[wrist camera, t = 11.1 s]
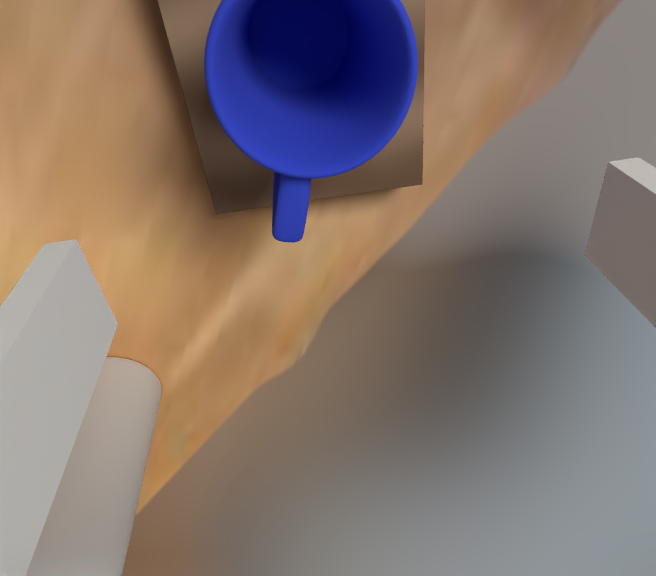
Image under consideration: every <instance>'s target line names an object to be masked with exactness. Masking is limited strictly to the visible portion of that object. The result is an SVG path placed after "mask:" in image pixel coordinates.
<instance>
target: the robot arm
mask: <svg viewBox="0 0 656 576" xmlns="http://www.w3.org/2000/svg"><path fill="white" fill-rule="evenodd" d="M585 256H586V257H587V258H588V259H589V260H590V261H591V262H592V263H593V264H594V265H595V266H596V267H597V268H598V269H599V270H600V271H601V273H602V274H603V275H604V276H605V277H607V279H609V281H610V282H612V284H613V285H614V286H616V288H617V289H618V290H619V291H620V292H621V293H622V294H623V295H624V296H625V297H626V298H627V299H628V300H629V301H630V302H631V303H632V304H633V305H634V306H635V307H636V308H637V309H638V310H639V311H640V312H641V313H642V314H643V315H644V316H645V317H646V318H647V319H648V320H649V321H650V322H651V323H652V324H653V325H654V326H655V327H656V168H655V167H653V166H652V165H650V164H648V163H647V162H645V161H643V160H642V159H640V158H632V159H626V160H618V161H611V162H608V165H607V169H606V173H605V176H604V181H603V184H602V188H601V192H600V196H599V200H598V204H597V208H596V211H595V215H594V219H593V223H592V227H591V231H590V235H589V239H588V243H587V247H586V250H585ZM117 326H118V323H117V321H116V319H115V317H114V315H113V313H112V311H111V309H110V307H109V305H108V303H107V301H106V299H105V297H104V295H103V293H102V291H101V289H100V287H99V285H98V283H97V281H96V279H95V276H94V274H93V272H92V270H91V268H90V266H89V264H88V262H87V260H86V258H85V256H84V254H83V252H82V250H81V248H80V246H79V244H78V242H77V240H76V239H74V240H67V241H60V242H53V243H46V244H44V245H43V246H42V248H41V249H40V251H39V252H38V254H37V255H36V256H35V258H34V259H33V261H32V262H31V264H30V265H29V266H28V268H27V269H26V271H25V272H24V274H23V275H22V277H21V278H20V279H19V281H18V282H17V284H16V285H15V287H14V288H13V289H12V291H11V292H10V294H9V295H8V297H7V298H6V299H5V301H4V302H3V304H2V305H1V307H0V576H26V573H27V570H28V568H29V565H30V562H31V560H32V557H33V554H34V551H35V549H36V546H37V543H38V541H39V538H40V535H41V532H42V530H43V527H44V524H45V522H46V519H47V516H48V513H49V511H50V508H51V505H52V503H53V500H54V497H55V494H56V492H57V489H58V486H59V484H60V481H61V478H62V475H63V473H64V470H65V467H66V465H67V462H68V459H69V456H70V454H71V451H72V448H73V446H74V443H75V440H76V437H77V435H78V432H79V429H80V427H81V424H82V421H83V418H84V416H85V413H86V410H87V408H88V405H89V402H90V399H91V397H92V394H93V391H94V389H95V386H96V383H97V380H98V378H99V375H100V372H101V370H102V367H103V364H104V361H105V359H106V356H107V353H108V351H109V348H110V345H111V342H112V340H113V337H114V334H115V332H116V329H117Z"/></svg>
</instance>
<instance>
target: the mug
mask: <svg viewBox="0 0 656 576" xmlns="http://www.w3.org/2000/svg"><path fill="white" fill-rule="evenodd" d="M204 73H205V81H206V88H207V92H208V96H209V100H210V103H211V106H212V108H213V111H214V113H215V115H216V117H217V119H218V121H219V123H220V125H221V126H222V128H223V130H224V131H225V133H226V134H227V136H228V137H229V138H230V139H231V140H232V142H233V143H234V144H235V145H236V146H237V147H238V148H239V149H240V150H241V151H242V152H243V153H244V154H246V155H247V156H248V157H249V158H251V159H252V160H253V161H255V162H256V163H258V164H260V165H262V166H263V167H265V168H267V169H269V170H272V171H274V182H273V217H272V234H273V237H274V238H275V239H276V240H279V241H283V242H297V241H300V240H301V239H302V237H303V233H304V228H305V223H306V217H307V211H308V205H309V197H310V187H311V178H312V179H315V178H325V177H330V176H335V175H339V174H342V173H345V172H348V171H350V170H352V169H355V168H356V167H358V166H360V165H362V164H364V163H365V162H367V161H368V160H370V159H371V158H373V157H374V156H375V155H376V154H377V153H378V152H380V151H381V150H382V149H383V148H384V147H385V146H386V145H387V144H388V143H389V142H390V140H391V139H392V138H393V136H394V135H395V134H396V132H397V131H398V129H399V128H400V126H401V125H402V123H403V121H404V119H405V117H406V115H407V113H408V110H409V108H410V105H411V103H412V100H413V96H414V92H415V87H416V81H417V74H418V53H417V45H416V39H415V35H414V31H413V28H412V24H411V21H410V19H409V16H408V14H407V12H406V9H405V8H404V6H403V4H402V2H401V0H222V1H221V2H220V4H219V6H218V8H217V10H216V12H215V14H214V17H213V19H212V22H211V25H210V28H209V32H208V35H207V40H206V46H205V56H204Z"/></svg>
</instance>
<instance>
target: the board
mask: <svg viewBox="0 0 656 576" xmlns="http://www.w3.org/2000/svg"><path fill="white" fill-rule="evenodd" d="M221 1H222V0H158V4H159V7H160V11H161V15H162V18H163V22H164V26H165V29H166V33H167V37H168V40H169V44H170V48H171V51H172V55H173V58H174V62H175V66H176V69H177V73H178V77H179V80H180V84H181V88H182V91H183V95H184V99H185V102H186V106H187V110H188V113H189V117H190V120H191V124H192V128H193V131H194V135H195V139H196V142H197V146H198V150H199V153H200V157H201V161H202V164H203V168H204V172H205V175H206V179H207V182H208V186H209V190H210V193H211V197H212V201H213V204H214V208H215V212H216V214H219V213H226V212H233V211H240V210H247V209H254V208H261V207H268V206H273V182H274V171H272V170H269V169H267V168H265V167H263V166H262V165H260V164H258V163H256V162H255V161H253V160H252V159H251V158H249V157H248V156H247V155H246V154H244V153H243V152H242V151H241V150H240V149H239V148H238V147H237V146H236V145H235V144H234V143H233V142H232V140H231V139H230V138H229V137H228V136H227V134H226V133H225V131H224V130H223V128H222V126H221V125H220V123H219V121H218V119H217V117H216V115H215V113H214V111H213V108H212V106H211V103H210V100H209V96H208V92H207V88H206V81H205V73H204V56H205V46H206V40H207V35H208V32H209V28H210V25H211V22H212V19H213V17H214V14H215V12H216V10H217V8H218V6H219V4H220V2H221ZM401 2H402V4H403V6H404V8H405V9H406V12H407V14H408V16H409V19H410V21H411V24H412V28H413V31H414V35H415V39H416V45H417V53H418V74H417V81H416V87H415V92H414V96H413V100H412V103H411V105H410V108H409V110H408V113H407V115H406V117H405V119H404V121H403V123H402V125H401V126H400V128H399V129H398V131H397V132H396V134H395V135H394V136H393V138H392V139H391V140H390V142H389V143H388V144H387V145H386V146H385V147H384V148H383V149H382V150H381V151H380V152H378V153H377V154H376V155H375V156H374V157H373V158H371V159H370V160H368V161H367V162H365V163H364V164H362V165H360V166H358V167H356V168H355V169H352V170H350V171H348V172H345V173H342V174H339V175H335V176H330V177H325V178H315V179H312V178H311V187H310V197H309V201H310V200H317V199H324V198H331V197H338V196H345V195H352V194H359V193H366V192H373V191H380V190H387V189H394V188H400V187H407V186H414V185H421V184H422V173H423V103H424V34H425V0H401Z"/></svg>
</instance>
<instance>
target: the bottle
mask: <svg viewBox="0 0 656 576" xmlns="http://www.w3.org/2000/svg"><path fill="white" fill-rule="evenodd" d="M161 393H162V388H161V383H160V381H159V379H158V377H157V376H156V375H155V374H154V373H153V372H152V371H151V370H150V369H149V368H147V367H146V366H144V365H142V364H141V363H138V362H136V361H133V360H130V359H126V358H119V357H106V359H105V361H104V364H103V367H102V370H101V372H100V375H99V378H98V380H97V383H96V386H95V389H94V391H93V394H92V397H91V399H90V402H89V405H88V408H87V410H86V413H85V416H84V418H83V421H82V424H81V427H80V429H79V432H78V435H77V437H76V440H75V443H74V446H73V448H72V451H71V454H70V456H69V459H68V462H67V465H66V467H65V470H64V473H63V475H62V478H61V481H60V484H59V486H58V489H57V492H56V494H55V497H54V500H53V503H52V505H51V508H50V511H49V513H48V516H47V519H46V522H45V524H44V527H43V530H42V532H41V535H40V538H39V541H38V543H37V546H36V549H35V551H34V554H33V557H32V560H31V562H30V565H29V568H28V570H27V573H26V576H121V575H122V571H123V566H124V562H125V557H126V553H127V549H128V544H129V539H130V535H131V530H132V526H133V522H134V517H135V513H136V508H137V504H138V499H139V495H140V490H141V486H142V481H143V477H144V472H145V468H146V463H147V458H148V454H149V449H150V445H151V440H152V436H153V431H154V427H155V422H156V418H157V413H158V409H159V404H160V400H161Z"/></svg>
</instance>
